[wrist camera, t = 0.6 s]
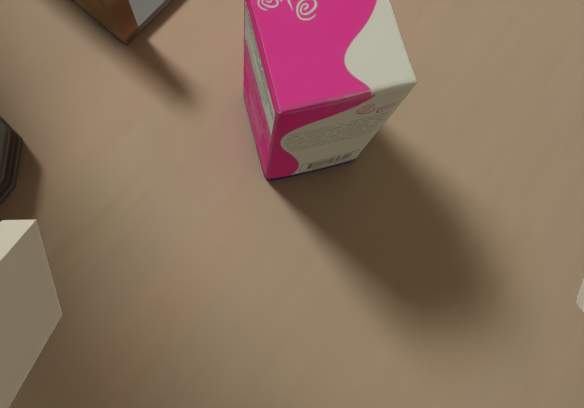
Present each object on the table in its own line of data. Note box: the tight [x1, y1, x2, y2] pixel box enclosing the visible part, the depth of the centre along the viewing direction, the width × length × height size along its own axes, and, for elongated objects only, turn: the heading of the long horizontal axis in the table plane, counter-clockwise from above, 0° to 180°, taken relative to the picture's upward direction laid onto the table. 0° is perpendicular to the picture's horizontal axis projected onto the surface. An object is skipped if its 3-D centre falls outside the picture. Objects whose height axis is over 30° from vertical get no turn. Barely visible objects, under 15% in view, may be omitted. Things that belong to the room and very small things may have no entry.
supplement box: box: [244, 0, 417, 181], centre depth 25 cm, size 6×6×12 cm
